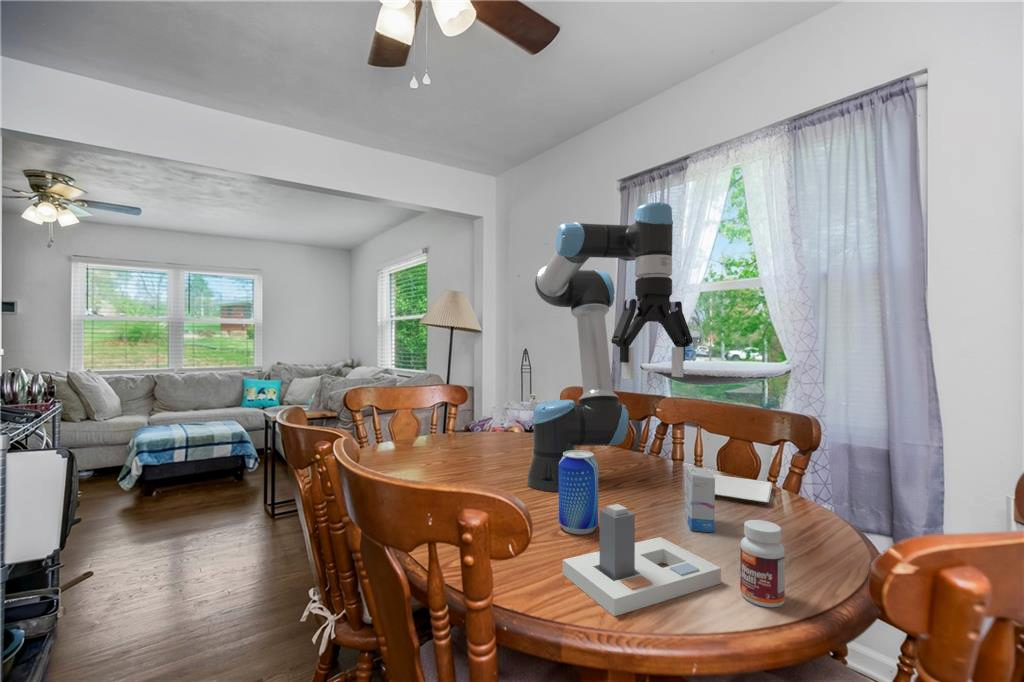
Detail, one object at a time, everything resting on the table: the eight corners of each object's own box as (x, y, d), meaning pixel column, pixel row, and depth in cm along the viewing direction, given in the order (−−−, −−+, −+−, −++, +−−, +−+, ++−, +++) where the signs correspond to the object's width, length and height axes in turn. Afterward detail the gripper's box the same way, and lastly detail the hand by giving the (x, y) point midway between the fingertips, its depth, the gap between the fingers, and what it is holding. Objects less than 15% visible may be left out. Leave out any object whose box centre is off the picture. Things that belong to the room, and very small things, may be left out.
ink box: (715, 533, 99) (715, 476, 99) (690, 531, 100) (690, 475, 100) (707, 518, 107) (707, 466, 107) (684, 517, 108) (684, 465, 108)
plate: (772, 489, 130) (772, 482, 130) (768, 510, 114) (768, 501, 114) (700, 479, 140) (700, 472, 140) (687, 496, 124) (687, 489, 124)
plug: (599, 582, 78) (599, 505, 78) (618, 577, 80) (618, 501, 80) (614, 594, 75) (614, 512, 75) (634, 588, 77) (634, 509, 77)
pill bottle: (735, 599, 73) (735, 526, 73) (746, 584, 78) (746, 515, 78) (780, 613, 69) (780, 536, 69) (788, 596, 74) (788, 524, 74)
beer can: (602, 524, 104) (602, 451, 104) (592, 538, 96) (592, 459, 96) (565, 518, 107) (565, 447, 107) (553, 531, 100) (553, 455, 100)
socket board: (562, 574, 81) (562, 557, 81) (660, 550, 91) (660, 535, 91) (614, 616, 69) (614, 597, 69) (721, 583, 78) (721, 566, 78)
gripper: (617, 271, 92) (617, 381, 92) (710, 279, 102) (710, 377, 102) (594, 276, 99) (594, 378, 99) (684, 283, 109) (683, 374, 109)
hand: (653, 377), depth 100 cm, fingers open, 13 cm apart
